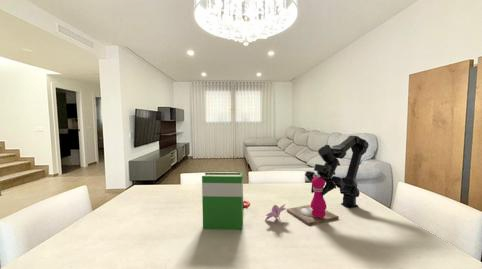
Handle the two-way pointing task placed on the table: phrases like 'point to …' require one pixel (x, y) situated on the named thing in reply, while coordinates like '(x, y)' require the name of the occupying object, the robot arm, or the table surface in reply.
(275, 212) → the lily
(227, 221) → the hardback book
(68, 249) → the table surface
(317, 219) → the brown flat square slab
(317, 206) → the pepper mill
